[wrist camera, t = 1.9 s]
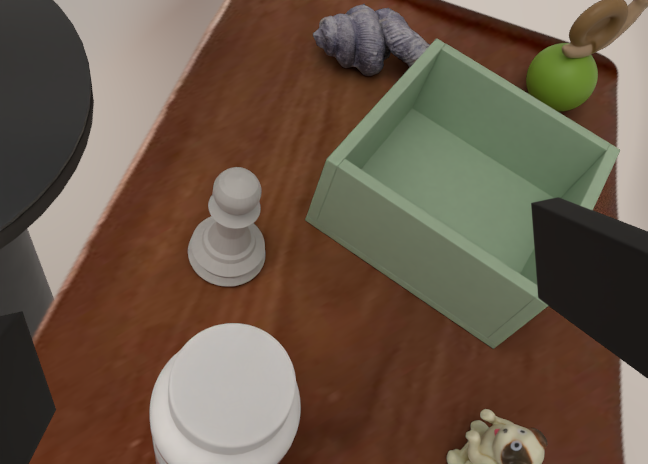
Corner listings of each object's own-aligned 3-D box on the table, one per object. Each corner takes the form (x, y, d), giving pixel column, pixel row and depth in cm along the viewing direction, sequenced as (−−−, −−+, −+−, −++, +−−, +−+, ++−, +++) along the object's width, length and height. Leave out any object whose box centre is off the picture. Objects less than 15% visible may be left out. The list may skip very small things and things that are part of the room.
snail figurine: (593, 116, 52) (694, -1, 42) (538, 130, 49) (631, 11, 39) (557, 71, 54) (645, -50, 44) (502, 83, 51) (582, -42, 41)
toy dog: (474, 411, 35) (515, 386, 31) (532, 484, 34) (583, 467, 30) (433, 447, 34) (470, 424, 29) (492, 524, 32) (539, 512, 28)
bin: (304, 220, 40) (326, 158, 34) (405, 102, 48) (436, 37, 42) (493, 349, 38) (548, 306, 32) (566, 204, 46) (620, 149, 40)
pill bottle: (293, 418, 33) (342, 346, 24) (243, 534, 29) (276, 502, 20) (192, 369, 33) (200, 278, 24) (130, 478, 29) (111, 421, 20)
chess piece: (189, 219, 38) (194, 138, 31) (264, 224, 39) (283, 145, 32) (185, 287, 35) (189, 214, 29) (265, 290, 36) (286, 219, 30)
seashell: (419, 76, 51) (304, 69, 49) (428, 9, 50) (309, -1, 47) (443, 84, 47) (317, 76, 44) (453, 10, 45) (323, -1, 43)
